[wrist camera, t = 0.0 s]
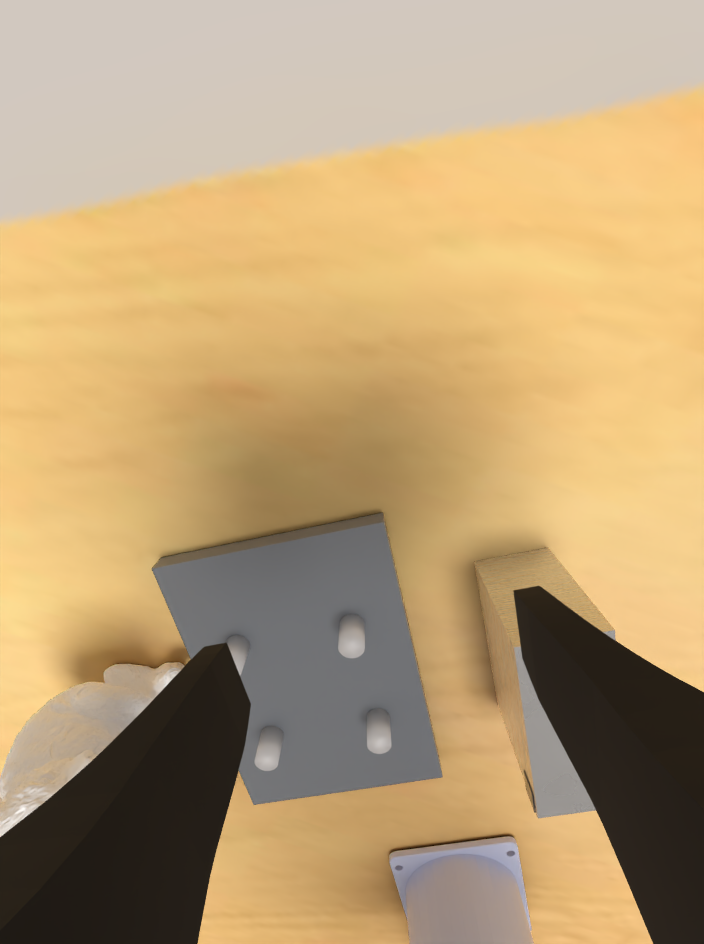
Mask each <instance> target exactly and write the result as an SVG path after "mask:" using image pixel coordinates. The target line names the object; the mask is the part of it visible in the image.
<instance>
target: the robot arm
mask: <svg viewBox="0 0 704 944" xmlns="http://www.w3.org/2000/svg"><path fill="white" fill-rule="evenodd" d="M513 593H514V600H515V608H516V615H517V622H518V630H519V637H520V645H521V652H522V659H523V661H524V664H525V667H526V669H527V672H528V674H529V677H530V680H531V682H532V685H533V687H534V690H535V692H536V695H537V697H538V700H539V702H540V703H541V705H542V707H543V709H544V711H545V713H546V715H547V717H548V719H549V721H550V723H551V725H552V727H553V728H554V730H555V732H556V734H557V736H558V738H559V740H560V742H561V744H562V746H563V747H564V749H565V751H566V753H567V755H568V757H569V759H570V761H571V763H572V765H573V766H574V768H575V770H576V772H577V774H578V776H579V778H580V780H581V782H582V783H583V785H584V787H585V789H586V791H587V793H588V795H589V797H590V799H591V801H592V803H593V805H594V807H595V809H596V811H597V813H598V815H599V817H600V819H601V821H602V823H603V826H604V828H605V830H606V833H607V835H608V837H609V840H610V842H611V844H612V847H613V849H614V851H615V854H616V856H617V858H618V861H619V863H620V865H621V868H622V870H623V872H624V875H625V877H626V879H627V882H628V884H629V886H630V889H631V891H632V894H633V896H634V898H635V901H636V903H637V906H638V908H639V910H640V913H641V915H642V918H643V920H644V922H645V925H646V927H647V930H648V932H649V934H650V937H651V939H652V942H653V944H704V692H702V691H700V690H698V689H696V688H695V687H693V686H691V685H689V684H687V683H685V682H683V681H681V680H679V679H678V678H676V677H674V676H672V675H670V674H669V673H667V672H665V671H663V670H662V669H660V668H658V667H656V666H655V665H653V664H651V663H650V662H648V661H647V660H645V659H643V658H642V657H640V656H638V655H637V654H635V653H634V652H632V651H630V650H629V649H627V648H626V647H624V646H623V645H621V644H620V643H618V642H617V641H615V640H614V639H612V638H611V637H609V636H608V635H606V634H605V633H604V632H602V631H601V630H599V629H598V628H596V627H595V626H593V625H592V624H591V623H589V622H588V621H586V620H585V619H584V618H582V617H581V616H579V615H578V614H577V613H575V612H574V611H573V610H571V609H570V608H569V607H567V606H566V605H565V604H563V603H562V602H561V601H559V600H558V599H557V598H555V597H554V596H553V595H551V594H550V593H549V592H548V591H546V590H545V589H543V588H542V587H540V586H534V587H529V588H523V589H518V590H513ZM250 708H251V703H250V700H249V698H248V695H247V693H246V690H245V687H244V685H243V682H242V680H241V677H240V675H239V672H238V670H237V667H236V665H235V662H234V660H233V657H232V654H231V652H230V649H229V647H228V644H227V643H221V644H216V645H210V646H205V647H203V648H202V649H201V650H200V651H199V652H198V653H197V654H196V655H195V656H194V657H193V658H192V659H191V660H190V661H189V662H188V663H187V664H186V665H185V666H184V667H183V668H182V670H181V671H180V672H179V673H178V674H177V675H176V676H175V677H174V678H173V679H172V680H171V681H170V682H169V683H168V685H167V686H166V687H165V688H164V689H163V690H162V691H161V692H160V693H159V694H158V695H157V696H156V697H155V698H154V699H153V700H152V701H151V703H150V704H149V705H148V706H147V707H146V708H145V709H144V710H143V711H142V712H141V713H140V714H139V715H138V716H137V717H136V718H135V719H134V720H133V721H132V722H131V723H130V724H129V725H128V726H127V727H126V728H125V729H124V730H123V731H122V732H121V733H120V734H119V735H118V736H117V737H116V738H115V739H114V740H113V741H112V742H111V743H110V744H109V745H108V746H107V747H106V748H105V749H104V750H103V751H102V752H101V753H100V754H99V755H98V756H96V757H95V758H94V759H93V760H92V761H91V762H90V763H89V764H88V765H87V766H86V767H84V768H83V769H82V770H81V771H80V772H79V773H78V774H77V775H76V776H74V777H73V778H72V779H71V780H70V781H69V782H67V783H66V784H65V785H64V786H63V787H62V788H61V789H59V790H58V791H57V792H56V793H55V794H54V795H52V796H51V797H50V798H49V799H48V800H46V801H45V802H44V803H43V804H41V805H40V806H39V807H38V808H36V809H35V810H34V811H33V812H31V813H30V814H29V815H28V816H26V817H25V818H24V819H22V820H21V821H20V822H19V823H17V824H16V825H15V826H14V827H12V828H11V829H10V830H8V831H7V832H6V833H5V834H3V835H2V836H1V837H0V944H197V943H198V937H199V931H200V926H201V921H202V916H203V910H204V905H205V900H206V894H207V889H208V884H209V879H210V874H211V870H212V866H213V862H214V857H215V853H216V849H217V846H218V842H219V839H220V835H221V831H222V828H223V824H224V821H225V817H226V814H227V810H228V806H229V803H230V799H231V796H232V792H233V788H234V785H235V781H236V778H237V774H238V770H239V766H240V763H241V759H242V755H243V751H244V747H245V742H246V736H247V730H248V723H249V715H250ZM389 862H390V866H391V869H392V873H393V876H394V879H395V882H396V885H397V889H398V892H399V895H400V898H401V902H402V905H403V908H404V911H405V914H406V918H407V921H408V931H409V944H534V942H533V938H532V934H531V923H530V917H529V911H528V905H527V899H526V893H525V887H524V881H523V875H522V869H521V863H520V857H519V851H518V846H517V842H516V840H515V839H514V838H513V837H510V836H506V837H498V838H491V839H483V840H475V841H468V842H460V843H453V844H445V845H437V846H430V847H422V848H415V849H407V850H400V851H394V852H392V853H391V854H390V855H389Z"/></svg>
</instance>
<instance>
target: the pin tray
mask: <svg viewBox="0 0 704 944" xmlns="http://www.w3.org/2000/svg"><path fill="white" fill-rule="evenodd" d="M152 571H153V573H154V575H155V578H156V580H157V582H158V585H159V587H160V589H161V591H162V594H163V596H164V598H165V601H166V603H167V605H168V608H169V610H170V612H171V615H172V617H173V619H174V622H175V624H176V626H177V628H178V631H179V633H180V635H181V638H182V640H183V642H184V645H185V647H186V649H187V652H188V654H189V656H190V659H192V658H193V657H194V656H195V655H196V654H197V653H198V652H199V651H200V650H201V649H202V648H203V647H205V646H210V645H216V644H221V643H227V644H228V647H229V649H230V652H231V654H232V657H233V660H234V662H235V665H236V667H237V670H238V672H239V675H240V677H241V680H242V682H243V685H244V687H245V690H246V693H247V695H248V698H249V700H250V703H251V708H250V715H249V723H248V730H247V736H246V742H245V747H244V751H243V755H242V759H241V763H240V766H239V772H240V774H241V777H242V779H243V781H244V784H245V786H246V788H247V790H248V793H249V795H250V797H251V800H252V802H253V804H254V805H256V804H263V803H270V802H277V801H283V800H290V799H297V798H304V797H311V796H318V795H325V794H331V793H338V792H345V791H352V790H359V789H366V788H373V787H379V786H386V785H393V784H400V783H407V782H414V781H420V780H427V779H434V778H441V777H443V776H442V771H441V765H440V760H439V755H438V751H437V746H436V742H435V738H434V733H433V729H432V725H431V720H430V716H429V712H428V707H427V703H426V699H425V694H424V690H423V685H422V681H421V677H420V672H419V668H418V664H417V659H416V655H415V651H414V646H413V642H412V638H411V633H410V629H409V624H408V620H407V616H406V611H405V607H404V603H403V598H402V594H401V590H400V585H399V581H398V577H397V572H396V568H395V563H394V559H393V555H392V550H391V546H390V542H389V537H388V533H387V529H386V524H385V520H384V515H383V513H379V514H374V515H369V516H364V517H359V518H354V519H349V520H344V521H339V522H334V523H329V524H324V525H320V526H315V527H310V528H305V529H300V530H295V531H290V532H285V533H280V534H275V535H270V536H265V537H261V538H256V539H251V540H246V541H241V542H236V543H231V544H226V545H221V546H216V547H211V548H207V549H202V550H197V551H192V552H187V553H182V554H177V555H172V556H167V557H162V558H160V559H159V561H158V562H157V563H156V564H155V565H154V567H153V568H152Z"/></svg>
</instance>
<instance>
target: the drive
mask: <svg viewBox="0 0 704 944" xmlns="http://www.w3.org/2000/svg"><path fill="white" fill-rule="evenodd" d="M474 564H475V570H476V576H477V582H478V588H479V595H480V601H481V607H482V613H483V619H484V625H485V631H486V637H487V644H488V650H489V656H490V662H491V668H492V674H493V680H494V686H495V693H496V699H497V704H498V707H499V710H500V712H501V715H502V718H503V721H504V724H505V726H506V729H507V732H508V735H509V738H510V741H511V743H512V746H513V749H514V752H515V755H516V758H517V760H518V763H519V766H520V769H521V772H522V774H523V777H524V780H525V784H526V790H527V793H528V796H529V799H530V801H531V804H532V807H533V810H534V813H535V812H536V814H537V817H538V818H544V817H551V816H558V815H566V814H573V813H580V812H587V811H595V810H596V809H595V807H594V805H593V803H592V801H591V799H590V797H589V795H588V793H587V791H586V789H585V787H584V785H583V783H582V782H581V780H580V778H579V776H578V774H577V772H576V770H575V768H574V766H573V765H572V763H571V761H570V759H569V757H568V755H567V753H566V751H565V749H564V747H563V746H562V744H561V742H560V740H559V738H558V736H557V734H556V732H555V730H554V728H553V727H552V725H551V723H550V721H549V719H548V717H547V715H546V713H545V711H544V709H543V707H542V705H541V703H540V702H539V700H538V697H537V695H536V692H535V690H534V687H533V685H532V682H531V680H530V677H529V674H528V672H527V669H526V667H525V664H524V661H523V659H522V652H521V645H520V637H519V630H518V622H517V615H516V608H515V600H514V593H513V590H518V589H523V588H529V587H534V586H540V587H542V588H543V589H545V590H546V591H548V592H549V593H550V594H551V595H553V596H554V597H555V598H557V599H558V600H559V601H561V602H562V603H563V604H565V605H566V606H567V607H569V608H570V609H571V610H573V611H574V612H575V613H577V614H578V615H579V616H581V617H582V618H584V619H585V620H586V621H588V622H589V623H591V624H592V625H593V626H595V627H596V628H598V629H599V630H601V631H602V632H604V633H605V634H606V635H608V636H609V637H611V638H612V639H614V640H615V630H614V628H613V627H612V626H611V625H610V623H609V622H608V621H607V620H606V618H605V617H604V616H603V615H602V614H601V612H600V611H599V610H598V609H597V607H596V606H595V605H594V604H593V602H592V601H591V600H590V599H589V598H588V596H587V595H586V594H585V593H584V591H583V590H582V589H581V588H580V586H579V585H578V584H577V583H576V582H575V580H574V579H573V578H572V577H571V575H570V574H569V573H568V572H567V570H566V569H565V568H564V567H563V566H562V564H561V563H560V562H559V561H558V559H557V558H556V557H555V556H554V554H553V553H552V552H551V551H550V550H549V548H543V549H538V550H532V551H527V552H522V553H517V554H511V555H506V556H501V557H496V558H490V559H485V560H480V561H474Z"/></svg>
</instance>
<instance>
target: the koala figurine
mask: <svg viewBox="0 0 704 944" xmlns="http://www.w3.org/2000/svg"><path fill="white" fill-rule="evenodd" d="M183 667H184V665H183V664H182V663H180V662H173V663H172V662H171V663H163V665H161V666H160V667H158V668H155V669H153V668H151V667H149V666H142V665H134V664H133V665H132V664H130V663H129V664H115V665H112V666H110V667H109V668H107V669H106V670H105V671H104V681H105V683H102V682H86V683H83V684H78V685H75V686H74V687H71V688H69V689H67V690H65V691H64V692H62V693H60V694H58V695H57V696H56V697H54V698H53V699H50V700H49V701H48V702H47V703H46V704H45V705H44V706H43V707H42V708H41V709H39V710H38V711H37V712H36V713H35V714H33V715H32V716H31V717H30V719H29V720H28V721H27V722H26V724H25V726H24V727H23V728H22V730H21V731H20V732H19V733H18V734H17V736H16V738H15V740H14V743H13V746H12V747H11V749H10V753H9V754H8V755H7V759H6V763H5V765H4V768H3V771H2V774H1V778H0V837H1V836H2V835H3V834H5V833H6V832H7V831H8V830H10V829H11V828H12V827H14V826H15V825H16V824H17V823H19V822H20V821H21V820H22V819H24V818H25V817H26V816H28V815H29V814H30V813H31V812H33V811H34V810H35V809H36V808H38V807H39V806H40V805H41V804H43V803H44V802H45V801H46V800H48V799H49V798H50V797H51V796H52V795H54V794H55V793H56V792H57V791H58V790H59V789H61V788H62V787H63V786H64V785H65V784H66V783H67V782H69V781H70V780H71V779H72V778H73V777H74V776H76V775H77V774H78V773H79V772H80V771H81V770H82V769H83V768H84V767H86V766H87V765H88V764H89V763H90V762H91V761H92V760H93V759H94V758H95V757H96V756H98V755H99V754H100V753H101V752H102V751H103V750H104V749H105V748H106V747H107V746H108V745H109V744H110V743H111V742H112V741H113V740H114V739H115V738H116V737H117V736H118V735H119V734H120V733H121V732H122V731H123V730H124V729H125V728H126V727H127V726H128V725H129V724H130V723H131V722H132V721H133V720H134V719H135V718H136V717H137V716H138V715H139V714H140V713H141V712H142V711H143V710H144V709H145V708H146V707H147V706H148V705H149V704H150V703H151V701H152V700H153V699H154V698H155V697H156V696H157V695H158V694H159V693H160V692H161V691H162V690H163V689H164V688H165V687H166V686H167V685H168V683H169V682H170V681H171V680H172V679H173V678H174V677H175V676H176V675H177V674H178V673H179V672H180V671H181V670H182V668H183Z"/></svg>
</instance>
